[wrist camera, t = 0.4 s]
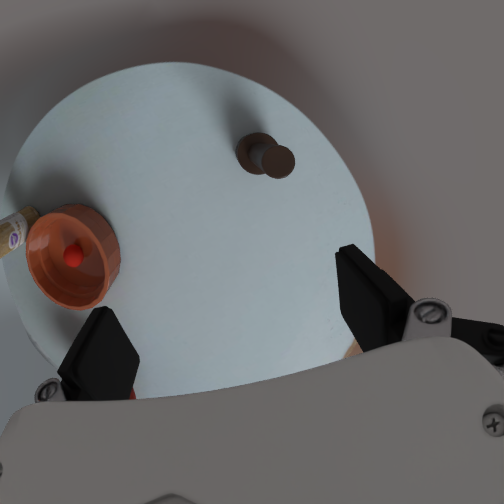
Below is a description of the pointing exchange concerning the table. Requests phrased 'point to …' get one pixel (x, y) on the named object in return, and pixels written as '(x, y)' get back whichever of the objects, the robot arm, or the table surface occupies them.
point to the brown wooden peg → (264, 156)
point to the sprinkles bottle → (16, 229)
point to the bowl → (54, 267)
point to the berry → (73, 255)
